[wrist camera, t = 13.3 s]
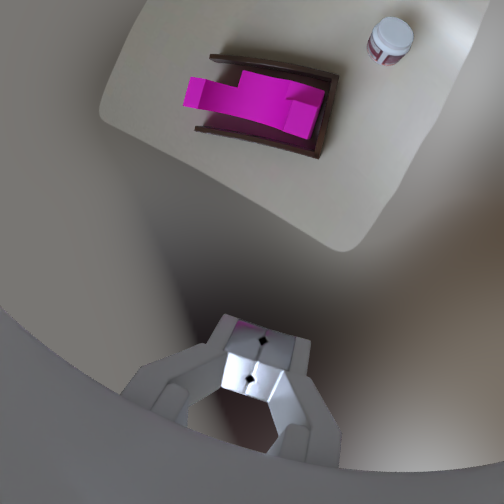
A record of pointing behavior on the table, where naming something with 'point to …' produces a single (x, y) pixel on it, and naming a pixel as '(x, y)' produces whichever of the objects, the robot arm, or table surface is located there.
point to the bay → (286, 68)
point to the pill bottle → (390, 41)
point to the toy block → (261, 101)
